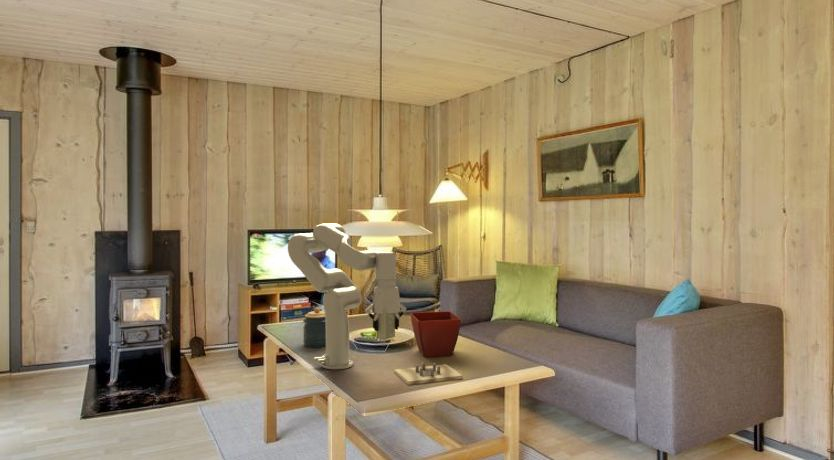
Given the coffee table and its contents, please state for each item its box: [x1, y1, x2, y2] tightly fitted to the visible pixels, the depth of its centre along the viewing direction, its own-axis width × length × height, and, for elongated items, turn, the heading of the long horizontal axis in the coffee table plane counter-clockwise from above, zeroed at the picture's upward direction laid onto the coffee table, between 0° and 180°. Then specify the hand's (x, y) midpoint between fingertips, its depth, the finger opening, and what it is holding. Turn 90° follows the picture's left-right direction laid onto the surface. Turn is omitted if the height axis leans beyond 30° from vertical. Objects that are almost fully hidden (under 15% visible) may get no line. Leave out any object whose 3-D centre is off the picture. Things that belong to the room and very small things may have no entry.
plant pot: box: [410, 310, 462, 358], centre depth 239 cm, size 19×19×17 cm
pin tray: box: [394, 361, 464, 386], centre depth 206 cm, size 22×16×4 cm
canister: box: [302, 307, 326, 349], centre depth 254 cm, size 13×13×18 cm
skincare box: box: [376, 308, 396, 341], centre depth 205 cm, size 6×4×12 cm
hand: (386, 329), depth 205 cm, fingers closed on skincare box, 7 cm apart
